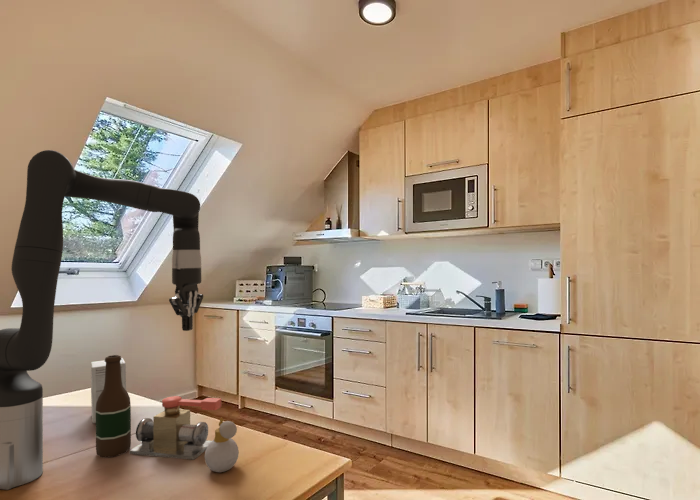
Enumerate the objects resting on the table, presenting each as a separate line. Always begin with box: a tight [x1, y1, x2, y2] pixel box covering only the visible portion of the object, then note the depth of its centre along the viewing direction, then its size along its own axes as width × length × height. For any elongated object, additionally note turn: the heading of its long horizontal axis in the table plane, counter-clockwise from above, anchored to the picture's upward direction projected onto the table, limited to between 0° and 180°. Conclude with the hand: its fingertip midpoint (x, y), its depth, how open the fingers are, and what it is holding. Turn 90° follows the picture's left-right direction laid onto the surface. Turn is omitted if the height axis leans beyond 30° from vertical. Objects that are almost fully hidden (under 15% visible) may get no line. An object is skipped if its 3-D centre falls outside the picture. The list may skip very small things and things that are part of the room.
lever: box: [161, 395, 222, 411], centre depth 110 cm, size 15×5×2 cm, turn 78°
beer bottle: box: [95, 354, 132, 459], centre depth 110 cm, size 8×8×24 cm
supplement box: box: [90, 357, 127, 424], centre depth 136 cm, size 10×9×17 cm
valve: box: [128, 405, 213, 460], centre depth 111 cm, size 9×18×11 cm, turn 77°
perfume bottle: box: [204, 417, 240, 473], centre depth 99 cm, size 8×10×12 cm
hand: (187, 330), depth 118 cm, fingers closed
